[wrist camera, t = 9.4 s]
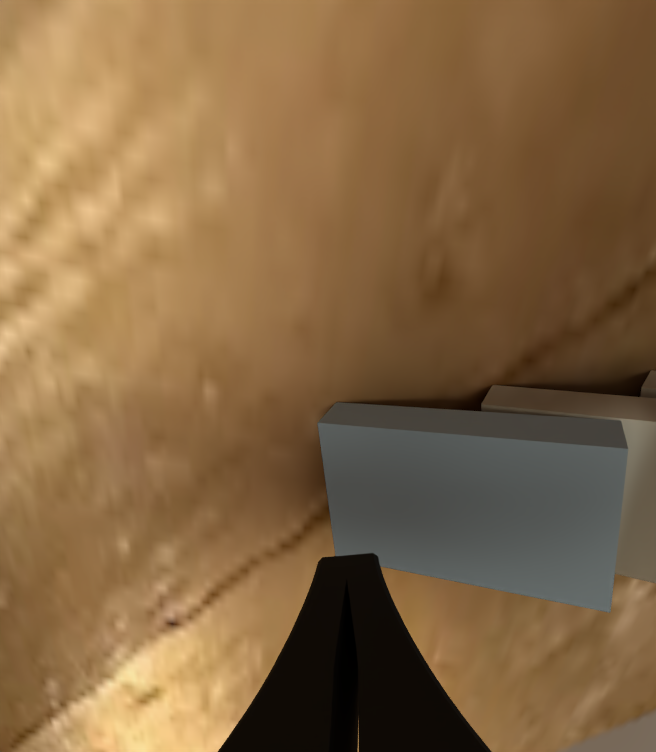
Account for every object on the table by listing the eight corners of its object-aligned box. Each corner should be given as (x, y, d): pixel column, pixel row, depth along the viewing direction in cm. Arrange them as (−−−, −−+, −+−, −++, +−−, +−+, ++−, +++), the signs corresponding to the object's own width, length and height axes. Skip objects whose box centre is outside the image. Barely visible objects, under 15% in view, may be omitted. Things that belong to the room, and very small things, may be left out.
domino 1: (336, 401, 16) (621, 420, 13) (351, 529, 18) (605, 573, 15) (317, 422, 15) (628, 448, 12) (335, 557, 17) (610, 612, 13)
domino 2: (492, 384, 16) (838, 413, 12) (492, 515, 18) (793, 578, 14) (481, 404, 15) (861, 443, 11) (482, 542, 16) (809, 619, 12)
